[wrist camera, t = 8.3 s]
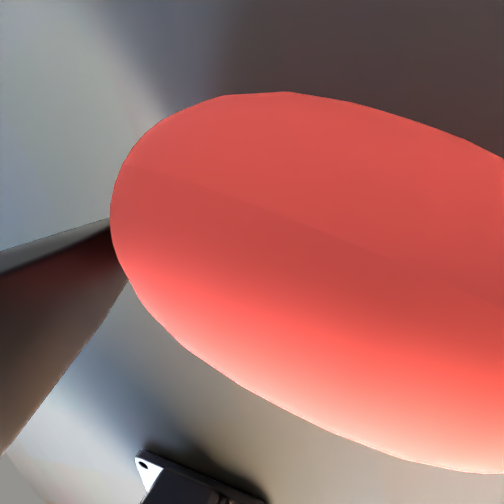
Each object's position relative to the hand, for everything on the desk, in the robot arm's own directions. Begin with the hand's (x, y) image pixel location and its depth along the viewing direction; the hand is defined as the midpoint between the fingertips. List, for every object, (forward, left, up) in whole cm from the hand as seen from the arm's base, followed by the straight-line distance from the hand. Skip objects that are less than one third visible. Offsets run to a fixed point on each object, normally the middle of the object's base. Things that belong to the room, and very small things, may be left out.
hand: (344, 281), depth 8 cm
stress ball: (0, 0, -3) cm, 3 cm away
